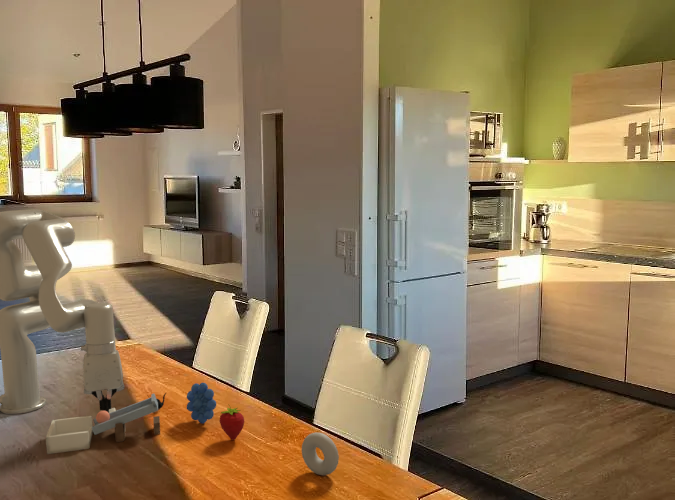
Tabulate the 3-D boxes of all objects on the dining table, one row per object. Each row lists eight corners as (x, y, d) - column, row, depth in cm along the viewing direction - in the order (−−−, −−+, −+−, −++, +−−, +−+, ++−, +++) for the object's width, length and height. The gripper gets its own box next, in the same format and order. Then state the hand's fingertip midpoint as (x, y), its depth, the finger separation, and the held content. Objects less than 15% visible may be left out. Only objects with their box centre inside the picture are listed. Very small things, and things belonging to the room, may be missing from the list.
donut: (299, 471, 152) (297, 430, 151) (308, 466, 155) (307, 425, 154) (333, 483, 146) (332, 440, 145) (342, 477, 149) (341, 435, 148)
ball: (99, 428, 172) (92, 417, 171) (100, 423, 175) (94, 413, 175) (112, 421, 173) (105, 410, 172) (112, 416, 176) (106, 406, 175)
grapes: (227, 422, 183) (226, 381, 181) (209, 430, 177) (207, 388, 176) (200, 413, 190) (198, 374, 188) (181, 421, 184) (179, 380, 183)
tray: (47, 454, 165) (45, 437, 164) (53, 435, 176) (52, 420, 176) (89, 448, 168) (87, 432, 167) (92, 430, 179) (91, 415, 179)
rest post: (154, 434, 176) (153, 423, 175) (154, 427, 180) (153, 416, 180) (160, 434, 176) (159, 422, 176) (160, 427, 181) (159, 416, 180)
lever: (95, 436, 171) (90, 425, 170) (98, 418, 183) (94, 407, 182) (158, 412, 175) (154, 400, 174) (158, 396, 187) (153, 385, 186)
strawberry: (231, 447, 166) (230, 410, 165) (215, 439, 172) (213, 403, 170) (250, 440, 170) (249, 404, 169) (233, 432, 176) (232, 397, 174)
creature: (135, 418, 191) (158, 414, 189) (130, 401, 190) (154, 396, 188) (148, 408, 198) (171, 404, 196) (143, 392, 198) (167, 387, 196)
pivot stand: (115, 442, 171) (114, 424, 171) (116, 431, 178) (115, 414, 178) (124, 441, 172) (123, 423, 171) (125, 430, 179) (124, 413, 178)
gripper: (70, 354, 174) (75, 420, 176) (129, 348, 178) (133, 413, 180) (73, 347, 181) (78, 410, 183) (129, 342, 185) (134, 404, 188)
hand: (105, 411), depth 182 cm, fingers closed
